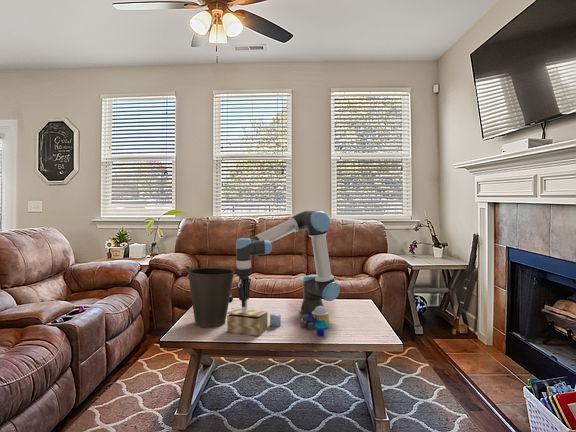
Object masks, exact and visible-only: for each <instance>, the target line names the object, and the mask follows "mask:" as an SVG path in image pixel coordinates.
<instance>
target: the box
mask: <svg viewBox="0 0 576 432" xmlns="http://www.w3.org/2000/svg"><path fill="white" fill-rule="evenodd" d="M226 322H227V325H226V329H227V330H226V331H227V333H226V334H232V335H233V334H234V335H235V334H236V335H243V336H251V337H257V338H258V337H260V336H262V335H263V334H264V333H265V332H266V331H267V330H268V327H269V326H268V313H266V314H264V315H262V316H260V317H253V316H243V315H234V314H227V316H226Z"/></svg>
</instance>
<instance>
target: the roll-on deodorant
mask: <svg viewBox="0 0 576 432" xmlns="http://www.w3.org/2000/svg"><path fill="white" fill-rule="evenodd" d="M281 316H282V315H281V314H280V313H270V315H269V327H271V328H280V327H282V326H281V325H282V320H281V319H282V317H281Z"/></svg>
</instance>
